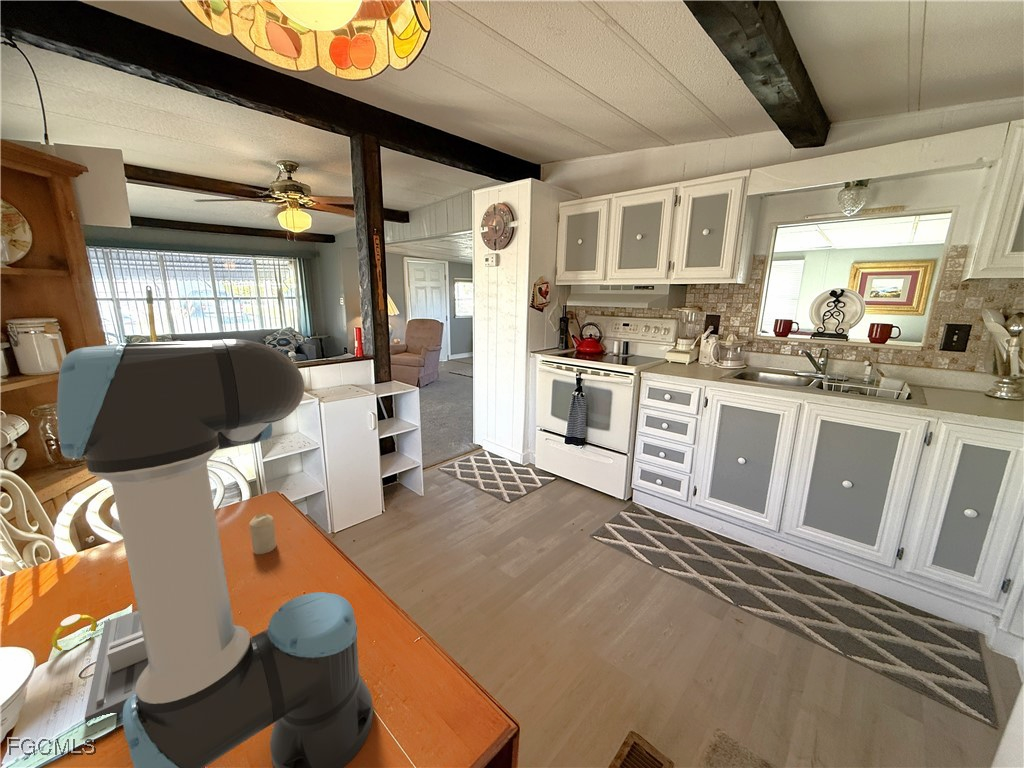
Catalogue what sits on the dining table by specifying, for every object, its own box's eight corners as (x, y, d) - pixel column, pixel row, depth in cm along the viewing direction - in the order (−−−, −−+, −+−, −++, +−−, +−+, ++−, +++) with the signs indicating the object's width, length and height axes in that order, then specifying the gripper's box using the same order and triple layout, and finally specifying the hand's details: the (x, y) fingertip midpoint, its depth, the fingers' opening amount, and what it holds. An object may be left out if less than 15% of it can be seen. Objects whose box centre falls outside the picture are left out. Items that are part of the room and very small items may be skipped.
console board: (222, 664, 75) (220, 652, 75) (87, 727, 64) (83, 714, 63) (213, 591, 93) (212, 580, 93) (106, 630, 82) (103, 618, 81)
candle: (248, 552, 107) (243, 519, 105) (265, 540, 112) (261, 508, 110) (263, 556, 106) (259, 523, 103) (281, 544, 111) (277, 512, 108)
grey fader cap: (149, 657, 74) (145, 639, 73) (111, 672, 71) (106, 654, 70) (149, 646, 76) (145, 628, 75) (113, 660, 73) (109, 642, 72)
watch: (61, 659, 76) (50, 635, 74) (54, 653, 77) (44, 630, 75) (102, 633, 81) (93, 610, 79) (95, 628, 82) (86, 606, 80)
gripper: (186, 477, 81) (203, 574, 87) (185, 455, 91) (200, 544, 96) (136, 487, 76) (157, 590, 82) (141, 463, 86) (159, 556, 92)
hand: (180, 565), depth 89 cm, fingers closed
